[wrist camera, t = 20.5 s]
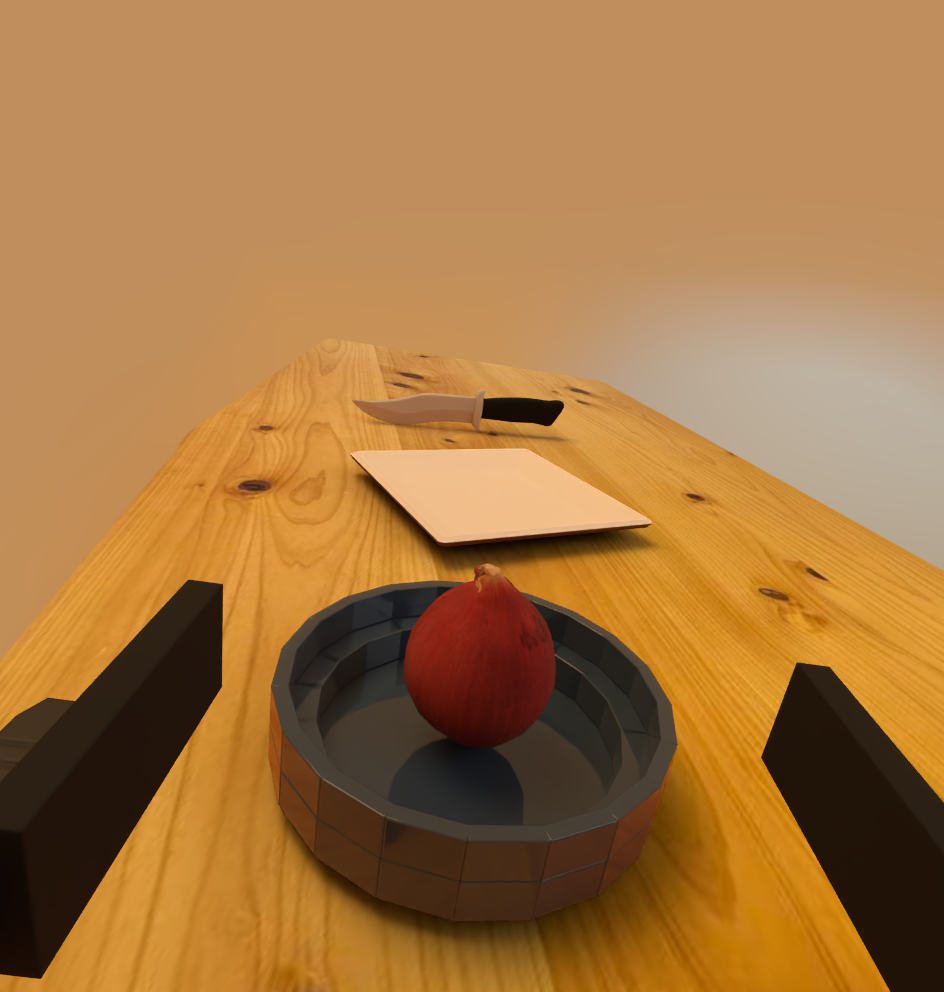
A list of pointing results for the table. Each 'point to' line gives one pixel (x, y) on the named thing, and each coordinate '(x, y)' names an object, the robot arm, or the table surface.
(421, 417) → the knife
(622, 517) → the plate
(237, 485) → the table surface
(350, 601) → the bowl
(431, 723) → the onion
